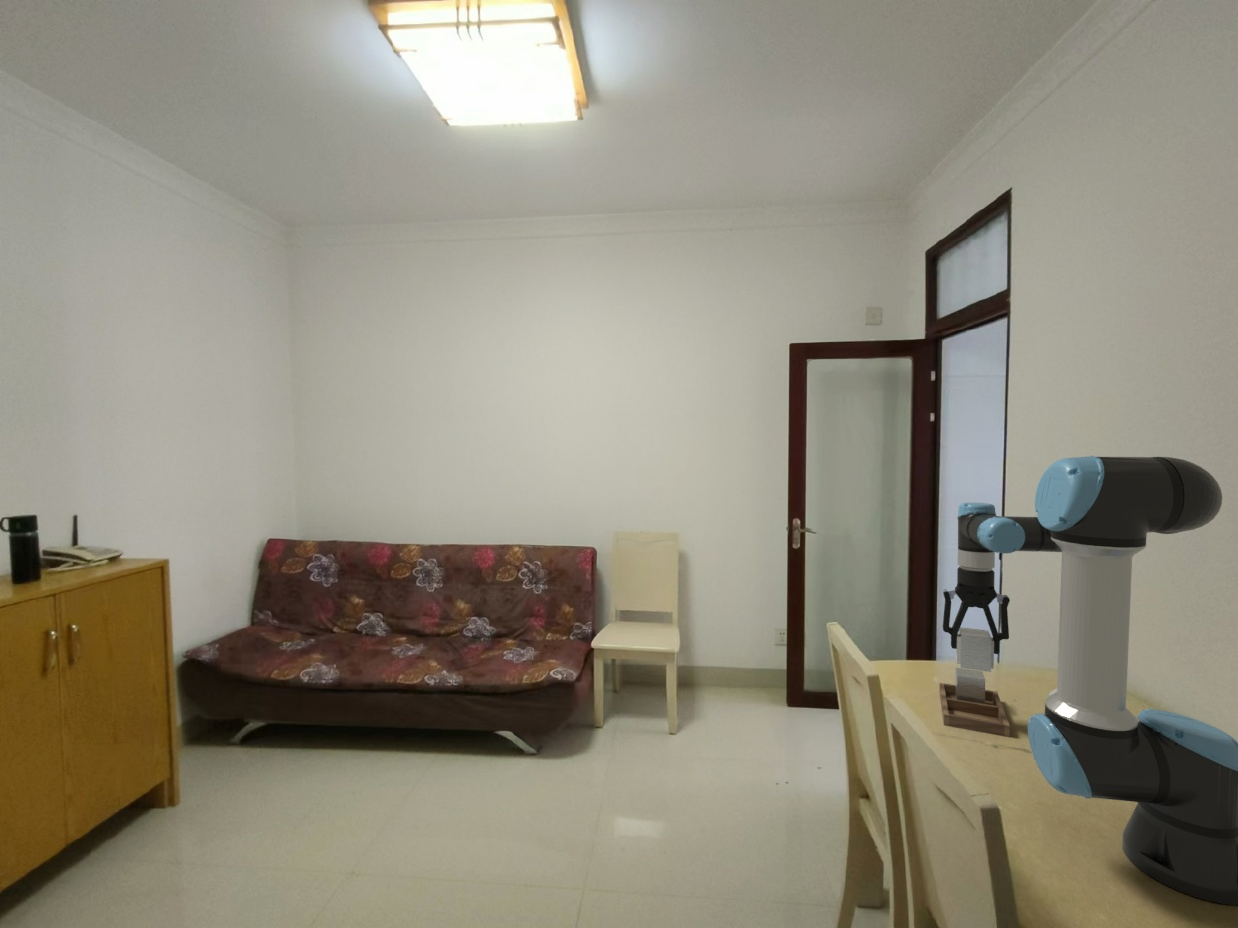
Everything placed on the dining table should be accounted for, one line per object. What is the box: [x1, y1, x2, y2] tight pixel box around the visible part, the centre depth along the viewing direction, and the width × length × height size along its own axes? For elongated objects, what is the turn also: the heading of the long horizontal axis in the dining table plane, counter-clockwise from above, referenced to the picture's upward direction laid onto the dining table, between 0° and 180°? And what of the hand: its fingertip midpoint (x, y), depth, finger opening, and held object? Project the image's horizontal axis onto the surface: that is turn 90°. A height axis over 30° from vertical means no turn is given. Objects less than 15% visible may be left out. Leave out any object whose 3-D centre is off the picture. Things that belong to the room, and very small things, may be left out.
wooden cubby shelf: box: [938, 682, 1011, 738], centre depth 144 cm, size 21×13×4 cm, turn 154°
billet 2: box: [954, 667, 986, 704], centre depth 148 cm, size 6×6×8 cm
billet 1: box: [958, 626, 992, 673], centre depth 139 cm, size 6×6×8 cm
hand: (974, 664), depth 139 cm, fingers closed on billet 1, 6 cm apart
